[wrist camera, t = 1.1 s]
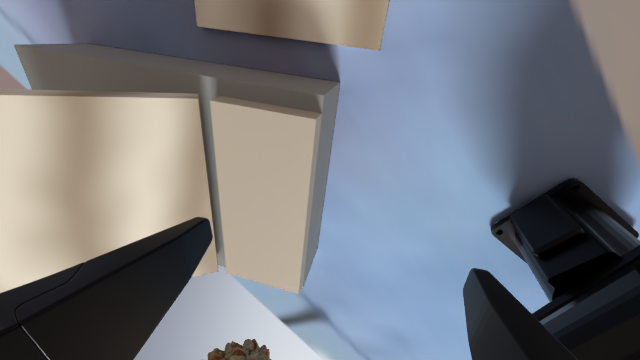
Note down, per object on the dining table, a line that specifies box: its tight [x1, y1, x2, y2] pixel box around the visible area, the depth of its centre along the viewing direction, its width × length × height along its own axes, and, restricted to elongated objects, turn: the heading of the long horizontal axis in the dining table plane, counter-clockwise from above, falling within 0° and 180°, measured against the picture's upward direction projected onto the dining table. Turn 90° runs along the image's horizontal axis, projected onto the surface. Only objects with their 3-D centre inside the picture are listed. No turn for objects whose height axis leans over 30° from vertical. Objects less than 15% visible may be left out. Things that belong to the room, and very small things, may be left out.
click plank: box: [0, 89, 218, 293], centre depth 17 cm, size 13×14×1 cm
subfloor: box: [14, 44, 340, 294], centre depth 22 cm, size 22×16×6 cm
